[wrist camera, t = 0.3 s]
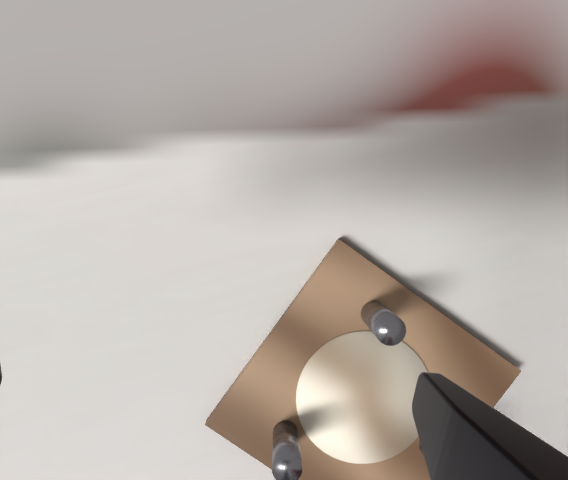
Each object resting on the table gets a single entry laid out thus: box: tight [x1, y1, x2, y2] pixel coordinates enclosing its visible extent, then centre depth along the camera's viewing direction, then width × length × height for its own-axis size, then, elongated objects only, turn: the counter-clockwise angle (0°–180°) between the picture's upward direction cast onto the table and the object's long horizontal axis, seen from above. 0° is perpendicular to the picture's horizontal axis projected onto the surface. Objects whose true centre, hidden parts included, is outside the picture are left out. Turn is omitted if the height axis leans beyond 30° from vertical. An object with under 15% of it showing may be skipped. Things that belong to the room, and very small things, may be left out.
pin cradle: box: [205, 239, 521, 480], centre depth 22 cm, size 14×14×4 cm
